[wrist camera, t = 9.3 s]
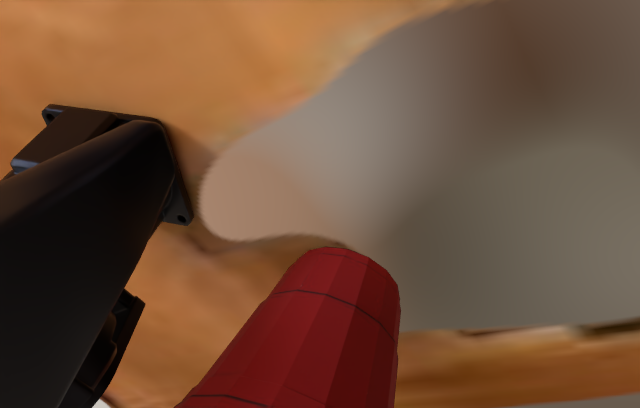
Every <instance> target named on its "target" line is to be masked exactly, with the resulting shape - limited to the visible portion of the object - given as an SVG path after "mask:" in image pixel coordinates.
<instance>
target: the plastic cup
mask: <svg viewBox="0 0 640 408" xmlns="http://www.w3.org/2000/svg"><path fill="white" fill-rule="evenodd" d="M400 314H401V309H400V297H399V291H398V286H397V284H396V282H395V281H394V280H393V278H392V277H391V275H390V274H389V273H388V272H387V270H386V269H384V268H383V267H381V266H380V265H379V264H377V263H376V262H375V261H373V260H372V259H370V258H369V257H366V256H364V255H361V254H359V253H356V252H354V251H351V250H348V249H342V248H333V247H323V248H318V249H313V250H309V251H307V252H306V253H305V254H304V255H302V256H301V257H300V258H299V259H298V260H297V261H296V262H295V263H294V264H293V265H291V266H290V267H289V268H288V270H287V271H286V273H285V274H284V275H283V277H282V278H281V280H280V281H279V282H278V284H277V285H276V286H275V288H274V289H273V291H272V292H271V293H270V295H269V296H268V298H267V299H266V300H265V301H263V302H262V303H261V304H260V305H259V306H258V308H257V309H256V310H255V311H254V313H253V314H252V315H251V317H250V318H249V319H248V320H247V322H246V323H245V324H244V326H243V327H242V328H241V330H240V331H239V332H238V333H237V335H236V336H235V337H234V339H233V340H232V341H231V343H230V344H229V345H228V346H227V348H226V349H225V350H224V352H223V353H222V354H221V356H220V357H219V358H218V359H217V361H216V362H215V363H214V365H213V366H212V367H211V369H210V370H209V371H208V372H207V374H206V375H205V376H204V378H203V379H202V380H201V382H200V383H199V384H198V385H197V386H195V387H194V388H192V390H191V391H190V392H189V393H188V394H187V396H186V397H185V398H184V399H183V400H182V402H180V403H179V404H177V405H176V406H175V407H174V408H394V399H395V388H396V378H397V368H398V355H397V345H398V335H399V324H400Z"/></svg>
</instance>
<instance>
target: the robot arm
mask: <svg viewBox="0 0 640 408" xmlns="http://www.w3.org/2000/svg"><path fill="white" fill-rule="evenodd" d="M42 116H43V118H44V120H45V122H46V124H47V127H46V128H44V129H43V130H42V131H41V132H40V133H39V134H38V135H37V136H36V137H35V138H34V139H33V140H32V141H31V142H30V143H29V144H27V145H26V146H25V147H24V148H23V149H22V150H21V151H20V152H19V153H18V154H17V155H16V156H15V157H14V158H13V159H12V161H11V163H10V164H11V166H12V168H13V169H12V170H11V171H10V172H9V173H8V174H7V175H6V176H5V177H4V178H3V179H2V180H1V181H0V408H92V407H93V406H94V404H95V403H96V402H97V401H98V400H99V398H100V397H101V396H102V394H103V393H104V392H105V390H106V388H107V387H108V385H109V384H110V382H111V380H112V378H113V376H114V374H115V372H116V370H117V368H118V366H119V363H120V361H121V359H122V357H123V354H124V352H125V350H126V348H127V345H128V343H129V341H130V339H131V336H132V334H133V332H134V329H135V327H136V325H137V323H138V320H139V318H140V316H141V314H142V311H143V309H144V307H145V303H144V302H143V301H142V300H141V299H140V298H138V297H137V296H135V297H134V296H133V295H132V294H130V293H129V292H128V291H127V290H126V289H124V287H125V286H126V284H127V282H128V280H129V278H130V277H131V275H132V273H133V271H134V269H135V267H136V265H137V263H138V262H139V260H140V258H141V255H142V253H143V251H144V249H145V247H146V244H147V242H148V240H149V239H150V238H151V236H152V235H153V233H154V232H155V231H156V229H157V228H158V226H159V225H160V224H161V222H162V221H163V222H168V223H173V224H178V225H184V226H188V225H190V223H191V222H192V220H193V218H194V214H193V211H192V208H191V205H190V202H189V199H188V196H187V193H186V190H185V187H184V184H183V181H182V178H181V175H180V172H179V169H178V166H177V163H176V160H175V157H174V154H173V150H172V147H171V144H170V141H169V138H168V135H167V132H166V129H165V127H164V125H163V124H162V123H161V122H160V121H159V120H157V119H155V118H152V117H144V116H137V115H129V114H121V113H114V112H106V111H99V110H91V109H84V108H76V107H68V106H61V105H53V104H50V105H48V106H47V107H46V108H45V109H44V110H43V111H42Z"/></svg>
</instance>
